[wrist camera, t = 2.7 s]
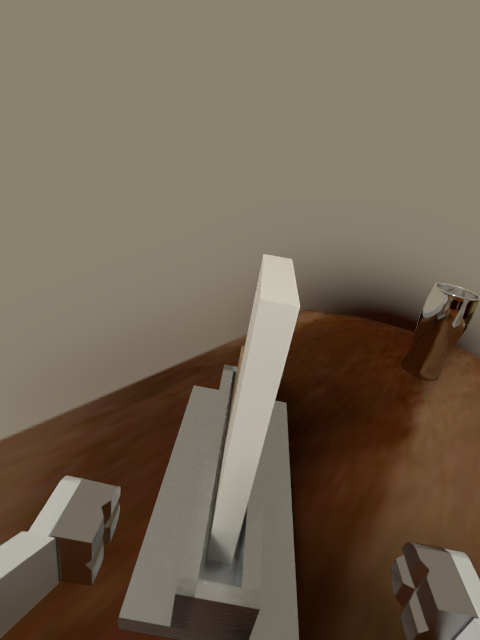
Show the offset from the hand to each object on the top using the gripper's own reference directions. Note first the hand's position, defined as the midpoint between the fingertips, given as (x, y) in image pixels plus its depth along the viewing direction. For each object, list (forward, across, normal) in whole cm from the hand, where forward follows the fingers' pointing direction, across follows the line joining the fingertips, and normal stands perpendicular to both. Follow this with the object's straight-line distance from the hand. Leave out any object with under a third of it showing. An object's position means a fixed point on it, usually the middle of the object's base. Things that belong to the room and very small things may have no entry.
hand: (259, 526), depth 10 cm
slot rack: (+18, 0, +21) cm, 27 cm away
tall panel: (+14, 0, +19) cm, 24 cm away
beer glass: (+48, -31, +20) cm, 60 cm away
